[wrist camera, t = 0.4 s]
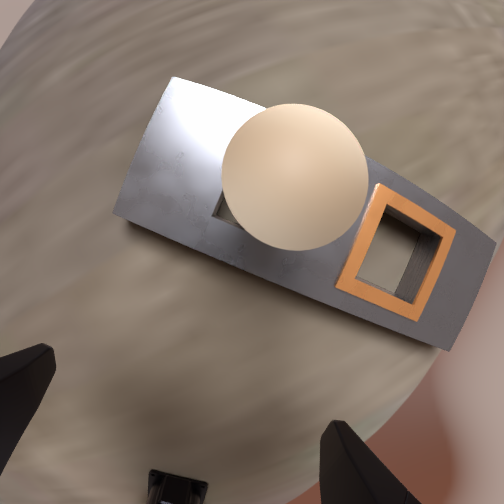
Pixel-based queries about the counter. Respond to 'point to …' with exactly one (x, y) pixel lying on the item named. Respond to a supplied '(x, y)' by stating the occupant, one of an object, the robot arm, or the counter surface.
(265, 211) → the peg
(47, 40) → the counter surface
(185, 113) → the silver slotted plate
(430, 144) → the counter surface
